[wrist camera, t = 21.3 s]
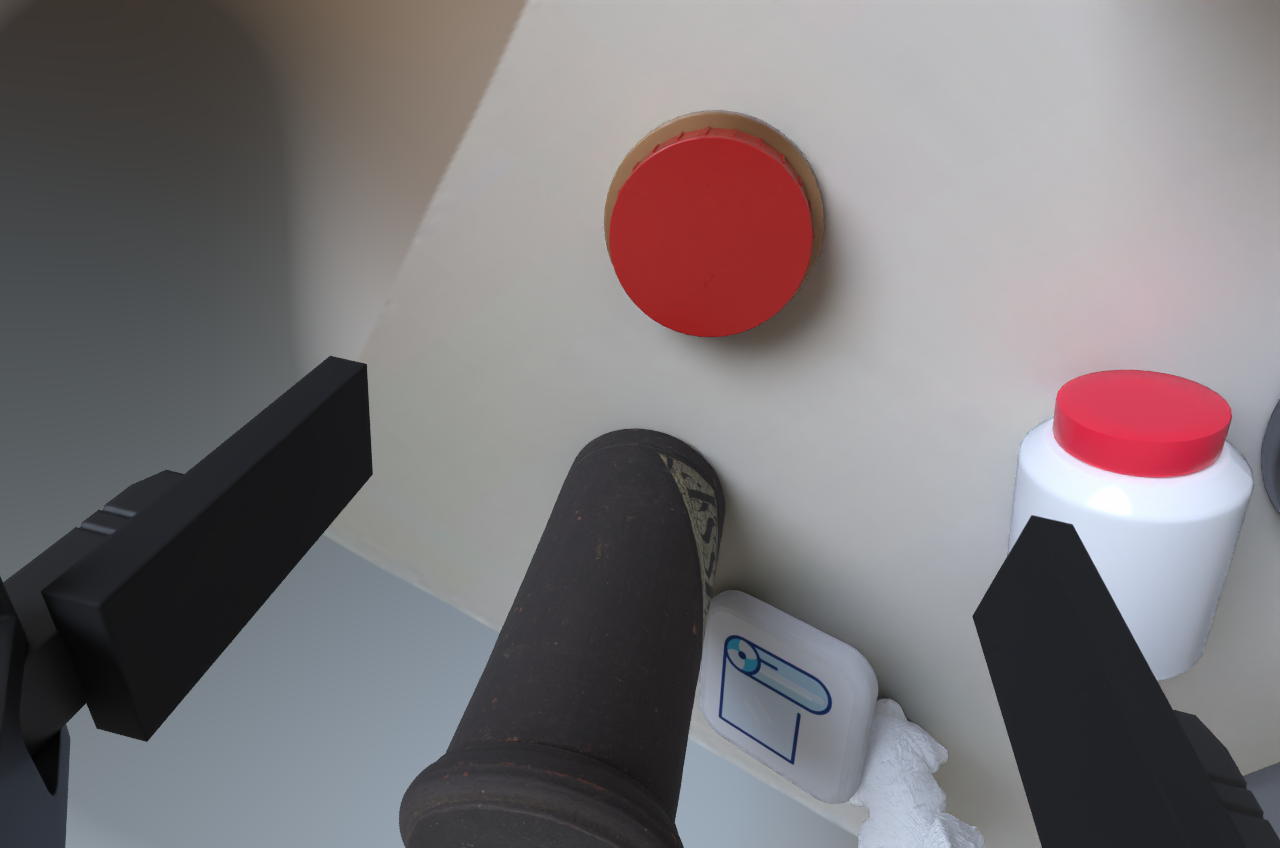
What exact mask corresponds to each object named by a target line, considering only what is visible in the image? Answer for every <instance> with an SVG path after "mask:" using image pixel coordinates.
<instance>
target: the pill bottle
mask: <svg viewBox="0 0 1280 848" xmlns="http://www.w3.org/2000/svg"><path fill="white" fill-rule="evenodd" d="M1231 418H1232V414H1231V408H1230V406H1229V405H1228V403H1227V401H1226V400H1225V399H1224V398H1222V397H1221V396H1220V395H1219V394H1218V393H1216V392H1215V391H1213V390H1211V389H1210V388H1208V387H1206V386H1203V385H1201V384H1199V383H1197V382H1194V381H1191V380H1188V379H1185V378H1182V377H1178V376H1174V375H1170V374H1165V373H1159V372H1152V371H1142V370H1110V371H1101V372H1095V373H1090V374H1086V375H1083V376H1079V377H1077V378H1075V379H1073V380H1070V381H1069V382H1067V383H1066V384H1065V385H1063V386H1062V387H1061V389H1060V390H1059V391H1058V393H1057V398H1056V404H1055V412H1054V417H1052V418H1050V419H1048V420H1046V421H1044V422H1042V423H1040V424H1039V425H1037V426H1036V427H1034V428H1033V429H1032V430H1031V431H1029V432H1028V433H1027V435H1026V436H1025V437H1024V439H1023V440H1022V442H1021V444H1020V448H1019V452H1018V458H1017V467H1016V477H1015V486H1014V496H1013V505H1012V515H1011V524H1010V534H1009V544H1008V553H1007V556H1008V554H1009V553H1010V551H1011V549H1012V548H1013V546H1014V544H1015V542H1016V541H1017V539H1018V537H1019V536H1020V534H1021V532H1022V530H1023V529H1024V527H1025V525H1026V524H1027V522H1028V520H1029V518H1030V517H1031V515H1034V516H1038V517H1043V518H1047V519H1052V520H1056V521H1060V522H1065V523H1069V524H1073V526H1074V528H1075V529H1076V531H1077V533H1078V535H1079V537H1080V539H1081V541H1082V542H1083V544H1084V546H1085V548H1086V550H1087V552H1088V554H1089V555H1090V557H1091V559H1092V561H1093V563H1094V565H1095V567H1096V568H1097V570H1098V572H1099V574H1100V576H1101V578H1102V580H1103V581H1104V583H1105V585H1106V587H1107V589H1108V591H1109V593H1110V594H1111V596H1112V598H1113V600H1114V602H1115V604H1116V606H1117V607H1118V609H1119V611H1120V613H1121V615H1122V617H1123V619H1124V620H1125V622H1126V624H1127V626H1128V628H1129V630H1130V632H1131V633H1132V635H1133V637H1134V639H1135V641H1136V643H1137V645H1138V646H1139V648H1140V650H1141V652H1142V654H1143V656H1144V658H1145V659H1146V661H1147V663H1148V665H1149V667H1150V669H1151V671H1152V672H1153V674H1154V676H1155V678H1156V680H1157V681H1160V680H1166V679H1168V678H1171V677H1174V676H1177V675H1180V674H1182V673H1183V672H1185V671H1186V670H1188V669H1189V668H1191V667H1192V666H1194V665H1195V663H1196V662H1197V661H1198V660H1199V658H1200V657H1201V656H1202V654H1203V651H1204V648H1205V645H1206V641H1207V638H1208V635H1209V632H1210V628H1211V625H1212V622H1213V619H1214V615H1215V612H1216V609H1217V605H1218V602H1219V599H1220V596H1221V592H1222V589H1223V586H1224V583H1225V579H1226V576H1227V573H1228V570H1229V566H1230V563H1231V560H1232V556H1233V553H1234V550H1235V547H1236V543H1237V540H1238V537H1239V534H1240V530H1241V527H1242V524H1243V520H1244V517H1245V514H1246V511H1247V507H1248V504H1249V501H1250V498H1251V494H1252V491H1253V487H1254V481H1253V474H1252V469H1251V468H1250V466H1249V464H1248V462H1247V461H1246V459H1245V458H1244V457H1243V455H1242V454H1241V453H1240V452H1239V451H1238V450H1237V449H1236V448H1235V447H1234V446H1233V445H1231V444H1230V443H1229V442H1228V441H1227V440H1226V436H1227V433H1228V429H1229V426H1230V422H1231Z"/></svg>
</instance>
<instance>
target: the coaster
mask: <svg viewBox="0 0 1280 848" xmlns="http://www.w3.org/2000/svg"><path fill="white" fill-rule="evenodd" d="M707 126H710V128H724V129H731V130H735V128H737V129H738V130H737V131H740V132H743V133H747V134H750V135H752V136H754V137H756V138H758V139H760V138H763V141H764V142H765V143H767V144H768V145H770V146H772V147H773V148H774V149H775V150H776V151H778V152H779V153H780V154H781V155H783V154H784V155H785V159H786V160H787V161H788V162H789V164H790V165H791V166H792V167H793V169H794V170H795V172H796V174H797V175H798V176H801V179H802V185H803V187H804V189H805V192H806V196H807V199H808V201H809V200H810V202H811V208H812V212H810V215H811V222H812V226H813V230H814V239H813V243H812V252H811V257H810V264H809V265H808V268H807V271H806V273H805V276H804V278H803V280H802V282H801V284H800V286H799V288H798V289H797V291H796V292H795V294H796V293H797V292H798V291H799V290H800V288H801V287H802V286H803V284H804V283H805V281H806V280H807V279H808V277H809V275H810V273H811V271H812V269H813V267H814V265H815V263H816V260H817V257H818V255H819V252H820V247H821V243H822V239H823V229H824V211H823V204H822V198H821V193H820V190H819V186H818V183H817V180H816V177H815V175H814V173H813V171H812V169H811V167H810V165H809V163H808V162H807V160H806V159H805V157H804V156H803V154H802V153H801V151H800V150H799V149H798V148H797V147H796V146H795V145H794V144H793V143H792V141H791V140H789V139H788V138H787V137H786V136H785V135H783V134H782V133H781V132H780V131H779V130H777V129H775V128H774V127H772V126H771V125H769V124H767V123H766V122H763V121H761V120H759V119H756V118H754V117H752V116H748V115H745V114H741V113H737V112H730V111H722V110H720V111H701V112H695V113H690V114H686V115H683V116H680V117H677V118H674V119H672V120H670V121H668V122H666V123H664V124H662V125H660V126H659V127H657V128H656V129H654V130H652V131H651V132H650V133H648V134H647V135H646V136H645V137H644V138H643V139H641V140H640V141H639V142H638V143H637V144H636V145H635V147H634V148H633V149H632V150H631V151H630V152H629V153H628V154H627V156H626V157H625V159H624V160H623V162H622V163H621V165H620V166H619V168H618V170H617V172H616V174H615V176H614V178H613V180H612V183H611V186H610V189H609V192H608V195H607V200H606V205H605V214H604V231H605V239H606V245H607V250H608V253H609V256H610V259H611V254H610V248H609V228H610V220H611V219H610V217H611V215H612V211H613V207H614V205H615V202H616V199H617V197H618V195H619V194H618V191H619V190H620V189H621V187H622V186H623V184H624V183H625V182H626V181H627V180H628V178H629V177H630V175H631V174H632V173H633V171H632V169H633V168H634V166H635V165H636V164H637V162H638V161H639V162H641V161H642V160H643V159H644V158H645V157H646V156H647V155H648V154H649V153H650V152H651V151H652V150H653V149H654V147H655V146H656V145H657V144H658V143H659V145H660V144H662V143H664V142H665V141H667V140H669V139H671V138H673V137H675V136H678V135H679V134H680V132H682V131H683V133H686V132H689V131H693V130H698V129H706V128H707ZM611 262H612V259H611ZM612 264H613V263H612ZM795 294H794V295H795ZM794 295H793V296H794ZM793 296H792V297H793ZM790 300H791V299H790Z"/></svg>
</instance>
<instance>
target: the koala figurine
mask: <svg viewBox="0 0 1280 848" xmlns="http://www.w3.org/2000/svg"><path fill="white" fill-rule="evenodd" d="M947 759H948V751H947V750H946V749H945V748H944V747H943V746H942V745H940V744H939V743H938V742H936V741H935V740H934V739H933V738H932V737H931V736H930V735H929V734H928V733H927V732H926V731H925V730H923V729H922V728H921V727H920V726H919V725H917V724H916V723H913V722H909V721H907V718H906V717H905V715H904V713H903V710H902V707H900V705H899V704H898V703H897V702H896V701H893V700H892V699H880V700H878V701H877V702H876V706H875V712H874V717H873V722H872V727H871V732H870V737H869V742H868V747H867V753H866V758H865V763H864V768H863V773H862V778H861V783H860V786H859V788H858V790H857V792H856V793H855V795H854V796H853V797H852V798H851V799H849V801H850V803H851V805H854V806H859V807H860V806H863V805H864V804H865V806H866V807H867V808H868V809H869V812H870V813H869V815H870V816H869V818H868V819H866V820H865V821H864V822H863V824H862V825H861V826H860V829H859V838H858V845H859V848H983V847H984V843H985V842H984V837H983V836H982V834H980V833H979V831H978V829H977V828H976V827H975V826H969V825H968V824H967V823H964V822H962V821H961V820H958V819H957V818H956V817H954V816H952V815H950V814H948V813H944V811H945V810H946V806H947V801H946V795H945V792H944V791H943V789H942V788H940V786H938V785H937V782H936V781H935V779H934V778H933V775H932V774H935V772H937V770H938V768H939V764H945V762H946V761H947Z"/></svg>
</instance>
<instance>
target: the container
mask: <svg viewBox="0 0 1280 848" xmlns="http://www.w3.org/2000/svg"><path fill="white" fill-rule="evenodd" d="M724 514H725V500H724V495H723V491H722V488H721V485H720V483H719V480H718V478H717V476H716V474H715V472H714V471H713V469H712V468H711V467H710V465H709V464H708V463H707V462H706V460H705V459H704V458H703V457H702V456H701V455H700V454H698V453H697V452H696V451H695V450H694V449H692V448H691V447H689V446H688V445H687V444H685V443H683V442H682V441H680V440H678V439H676V438H674V437H672V436H670V435H667V434H664V433H661V432H657V431H653V430H646V429H624V430H617V431H613V432H610V433H607V434H604V435H602V436H600V437H598V438H596V439H594V440H593V441H591V442H590V443H589V444H587V445H586V446H585V447H584V448H583V449H582V450H581V452H580V453H579V454H578V456H577V457H576V459H575V461H574V463H573V465H572V467H571V469H570V471H569V473H568V475H567V477H566V479H565V481H564V484H563V486H562V489H561V491H560V494H559V496H558V498H557V501H556V503H555V506H554V508H553V511H552V513H551V516H550V518H549V521H548V523H547V525H546V528H545V530H544V532H543V535H542V537H541V540H540V542H539V544H538V546H537V549H536V551H535V554H534V556H533V558H532V561H531V563H530V565H529V568H528V570H527V573H526V575H525V577H524V580H523V582H522V584H521V586H520V589H519V591H518V593H517V596H516V598H515V600H514V603H513V605H512V607H511V609H510V612H509V614H508V616H507V619H506V621H505V623H504V625H503V627H502V630H501V632H500V634H499V637H498V639H497V642H496V644H495V646H494V649H493V651H492V654H491V655H490V658H489V660H488V663H487V665H486V668H485V670H484V672H483V674H482V676H481V678H480V680H479V682H478V684H477V687H476V689H475V691H474V693H473V696H472V698H471V700H470V702H469V704H468V706H467V708H466V710H465V712H464V715H463V717H462V719H461V721H460V723H459V725H458V728H457V730H456V732H455V734H454V736H453V739H452V741H451V743H450V745H449V747H448V749H447V752H446V754H445V755H443V756H442V757H441V758H440V759H438V760H437V761H436V762H434V763H433V764H431V765H429V766H428V767H427V768H426V769H424V770H423V771H422V772H421V773H420V774H419V775H418V776H417V777H416V778H415V779H414V781H413V782H412V783H411V785H410V786H409V788H408V789H407V791H406V792H405V794H404V797H403V799H402V802H401V806H400V813H399V826H400V833H401V837H402V840H403V843H404V845H405V847H406V848H684V847H683V844H682V842H681V839H680V837H679V835H678V831H677V828H676V825H675V817H676V811H677V806H678V799H679V794H680V787H681V780H682V773H683V766H684V760H685V754H686V753H685V752H686V747H687V740H688V734H689V727H690V721H691V715H692V709H693V704H694V698H695V691H696V686H697V681H698V675H699V670H700V663H701V659H702V658H701V657H702V651H703V644H704V637H705V631H706V626H707V619H708V614H709V609H710V603H711V596H712V590H713V583H714V578H715V572H716V566H717V560H718V554H719V547H720V541H721V535H722V529H723V522H724Z"/></svg>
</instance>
